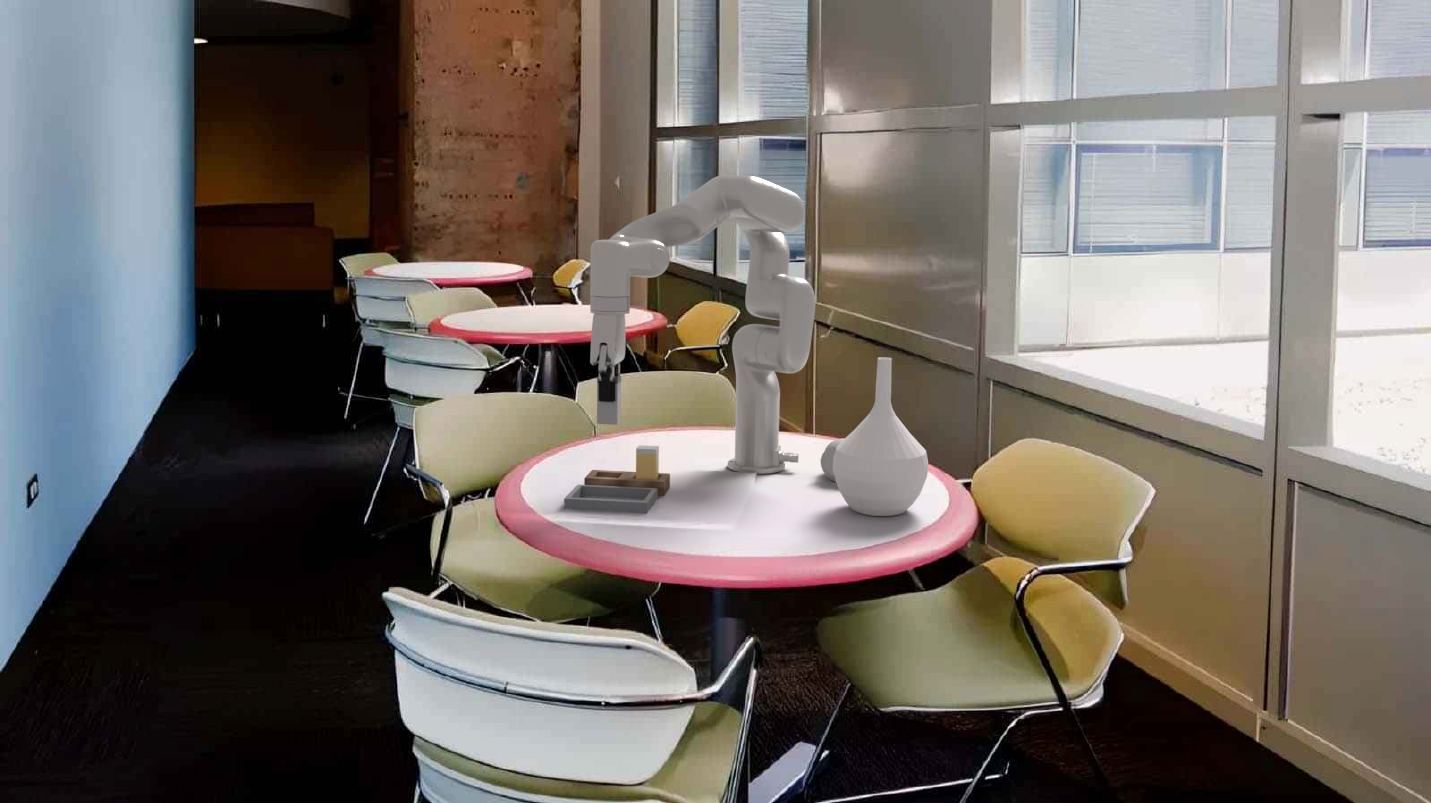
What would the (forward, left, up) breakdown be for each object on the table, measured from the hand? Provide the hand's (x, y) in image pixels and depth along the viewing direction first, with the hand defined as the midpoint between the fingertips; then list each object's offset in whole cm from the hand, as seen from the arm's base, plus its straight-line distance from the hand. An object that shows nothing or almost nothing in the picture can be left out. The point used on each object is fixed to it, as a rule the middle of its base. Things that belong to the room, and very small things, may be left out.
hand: (609, 398), depth 254 cm
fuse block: (-2, -6, -21) cm, 22 cm away
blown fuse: (0, 0, -5) cm, 5 cm away
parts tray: (-1, +4, -21) cm, 21 cm away
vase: (-52, -5, -21) cm, 57 cm away
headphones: (-50, -30, -21) cm, 62 cm away
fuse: (-6, -6, -20) cm, 22 cm away
